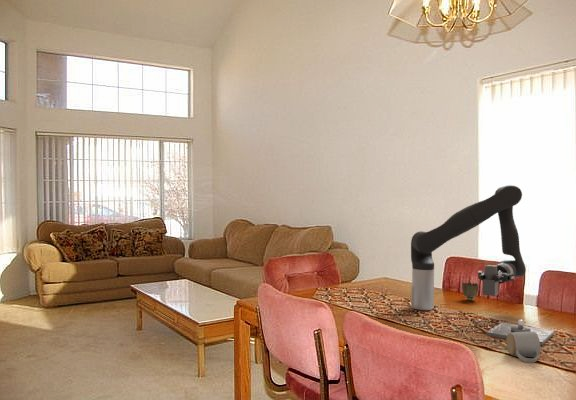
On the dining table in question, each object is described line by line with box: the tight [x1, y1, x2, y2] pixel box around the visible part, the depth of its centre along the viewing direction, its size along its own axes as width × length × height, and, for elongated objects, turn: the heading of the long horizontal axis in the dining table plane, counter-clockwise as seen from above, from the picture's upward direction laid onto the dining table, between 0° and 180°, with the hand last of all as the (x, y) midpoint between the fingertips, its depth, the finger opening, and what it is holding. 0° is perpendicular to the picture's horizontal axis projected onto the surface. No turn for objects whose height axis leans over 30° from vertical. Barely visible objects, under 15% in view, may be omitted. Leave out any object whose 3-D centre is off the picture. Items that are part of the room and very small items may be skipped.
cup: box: [461, 281, 479, 302], centre depth 241 cm, size 8×7×8 cm
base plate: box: [486, 319, 555, 346], centre depth 183 cm, size 18×18×5 cm
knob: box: [481, 264, 499, 297], centre depth 198 cm, size 5×5×11 cm
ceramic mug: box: [505, 331, 541, 364], centre depth 157 cm, size 11×8×8 cm
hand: (488, 278), depth 196 cm, fingers closed on knob, 4 cm apart
